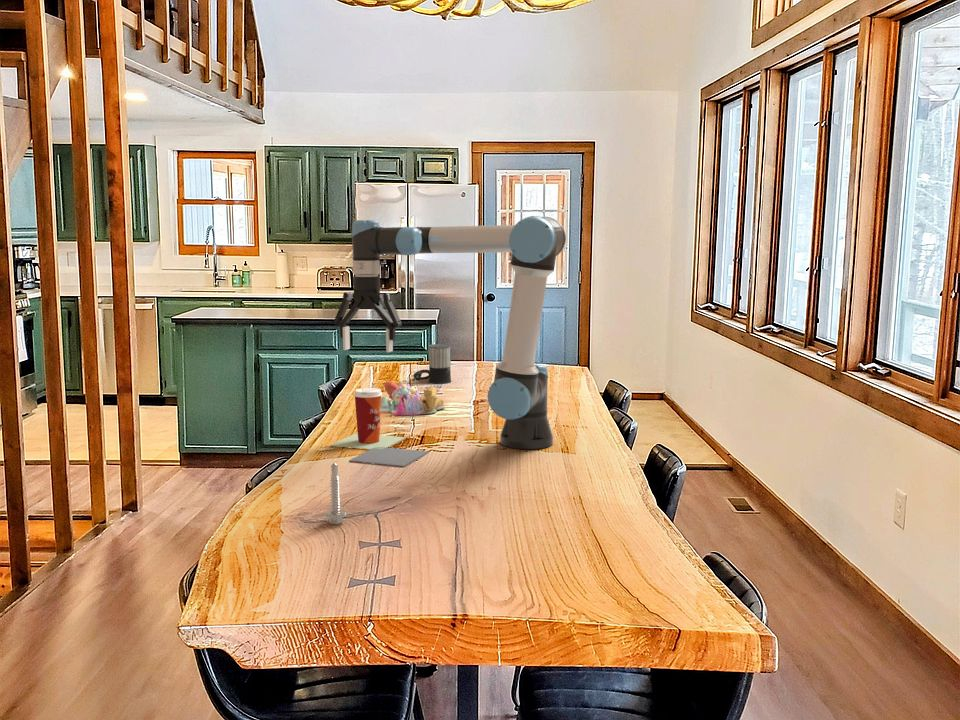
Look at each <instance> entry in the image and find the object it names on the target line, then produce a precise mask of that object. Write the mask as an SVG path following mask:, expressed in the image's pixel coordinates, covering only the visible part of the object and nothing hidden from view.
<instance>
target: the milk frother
mask: <svg viewBox="0 0 960 720" xmlns="http://www.w3.org/2000/svg"><path fill="white" fill-rule="evenodd" d="M451 347H452V345H451V344H448V343H447V344H446V343H434V344H429V345H428V365H429V366H428V367H429V369H419V370H417V371H415V372H414V373H413V379H415V380H418V381H419V380H420V381H423V380H428V383H430V384H448V383H449V384H450V383H451V382H452V377H451V376H452V375H451V362H452V352H451ZM423 374H428V375H426V376H422V375H423Z"/></svg>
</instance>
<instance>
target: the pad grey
mask: <svg viewBox="0 0 960 720" xmlns="http://www.w3.org/2000/svg"><path fill="white" fill-rule="evenodd" d="M378 449H379V448H378ZM429 453H430V451H429V450H428V451H427V450H426V451H425V450H416V449H415V450H414V449H406V448H396V447H395V448H394V447H389V448H384V449H383V447H382V449H381V450H380V449H379V450H377V449H376V448H375V449H374V448H373V449H370V450H366V451H365V452H363V453H361V454H359V455H357V456H355V457H353V458H350V459H349V460H348V462H349V461H355V462H354V463H356V462H365V463H364V464H366V463H374V464H373V465H376V464H381V465H380V466H386V465H389V466H388V467H395V468H396V467H397V468H406V467H407V466H409V465H410V464H412V463H414V462H415V461H417V460H419V459H421V458H423V457H425V456H426V455H428V454H429Z"/></svg>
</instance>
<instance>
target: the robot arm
mask: <svg viewBox="0 0 960 720" xmlns="http://www.w3.org/2000/svg"><path fill="white" fill-rule="evenodd" d="M351 226H352V228H351V229H352V230H351V231H352V232H351V241H352V244H351V245H352V274H353V275H355V276H353V278H352V285H353V287H352V288H353V292H352V293H351V292H350V291H347V292H346V291H345V292H343V294H342V301H341V304H340V306H339V308H338V310H337V313H336V315H335V317H334V320H333V324H334V325H336V326H338V327H339V331H340V332H339V334H340V336H339V337H340V338H341V339H342V351H348V350H350V349H351V341H350V340H351V336H350V335H351V333H350V331H351V330H350V326H348V324H349V323H350V321H351V320H352V319H353V317H354V316H355V315H356V314H357V313H358V311H359V310H360V309H361V310H364V309H367V310H374V311H375V312H376V313H377V315H378V317H380V319H381V320H382V321H383V322H384V324H385V325H386V326H387V327H388V328H386V329H385V346H386V347H385V349H386V350H385V352H386V353H392V352H394V349H393V348H394V343H393V341H395V340H396V329H397V328H399V327H401V326H402V325H403V323H402V321H401V318H400V317H399V315H398V312H397V310H396V307H395V306H394V304H393V301H392V297H391V296H392V295H391V293H390V292H385V293H381V291H380V290H381V277H380V276H379V275H380V274H381V268H380V267H381V266H380V265H381V264H380V258H381V255H389V256H390V255H392V256H393V255H394V256H395V255H396V256H397V255H398V256H411V255H412V256H413V255H418V254H419V255H420V254H471V253H472V254H475V253H476V254H481V253H483V254H484V253H485V254H487V253H490V254H491V253H492V254H493V253H494V254H495V253H497V254H498V253H499V254H500V253H511V258H510V264H509V265H510V267H511V268H512V269H513V271H514V277H513V278H514V279H513V286H512V290H511V291H512V293H511V299H510V304H509V305H510V306H509V311H508V312H509V313H508V321H507V328H506V334H505V342H504V349H503V356H502V359H501V361H500V362H498V363H496V367H495V373H494V378H493V382H492V383H491V385H490V387H489V389H488V392H487V403H488V405H489V408H490V409H491V410H492V412H493V413H494V414H495V415H496V416H498V417H500V418H502V419H504V420H505V421H504V424H503V427H502V430H501V433H500V436H499V442H500V445H501V446H504V447H507V448H510V449H516V450H517V449H518V450H538V449H545V448H548V447H551V446H552V445H553V444H554V443H553V442H554V439H553V438H554V436H553V433H552V429H551V425H550V422H549V419H548V388H549V387H548V385H549V383H548V379H549V374H548V368H547V366H546V365H542V364H535V363H536V362H535V361H536V356H537V348H538V341H539V335H540V328H541V321H542V315H543V308H544V301H545V294H546V293H545V292H546V286H547V281H548V277H549V275H551V274H553V272H554V271H555V266H556V260H557V257H558V255H560V254H561V252H562V251H563V249H564V248H565V244H566V240H567V239H566V238H567V235H566V232H565V229H564V227H563V225H562V224H561V222H559V221H558V220H557V219H555V218H552V217H549V216H540V215H530V216H527V217H524V218H523V219H521V220H519V221H518V222H516V224H508V225H507V224H505V225H504V224H503V225H501V224H500V225H466V226H463V225H462V226H461V225H460V226H458V225H457V226H456V225H455V226H415V227H414V226H413V227H411V226H401V227H400V226H399V227H396V226H395V227H394V226H393V227H392V226H391V227H383V226H382V227H381V226H380V222H379V221H378V220H374V219H373V220H372V219H370V220H365V219H364V220H362V219H361V220H359V219H358V220H357V219H356V220H355V221H353V222H352V225H351ZM352 299H353V301H354V303H353V304H352V305H351V307H350V309H349V310H348V312H347V309H348V308H349V305H350V303H351V301H352ZM380 301H382V302H383V304H384V306H385V308H386V310H387V311H386V310H385V309H384V308H383V305H382V304H381V303H380ZM346 312H347V313H346ZM345 314H346V315H345Z"/></svg>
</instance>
